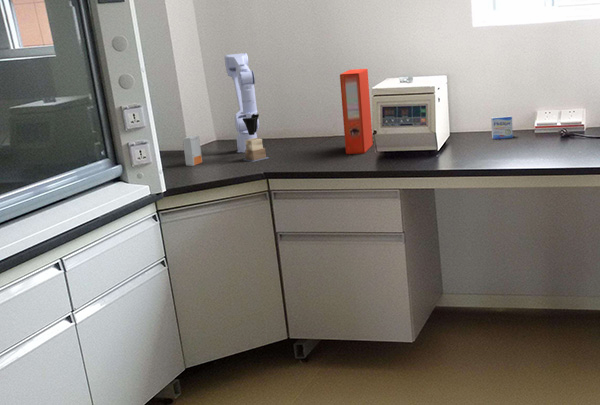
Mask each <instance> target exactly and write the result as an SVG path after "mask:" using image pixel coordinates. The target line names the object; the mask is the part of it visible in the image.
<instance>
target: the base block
mask: <svg viewBox="0 0 600 405" xmlns="http://www.w3.org/2000/svg"><path fill="white" fill-rule="evenodd" d="M266 157H267V154H266V147H263V149H259V150H254V151H251V150H245V159H246V160H245V161H247V160H252V161H251V162H253V161H254V162H256V161H255V160H258V161H261V160H260V159H262V160H265V159H264V158H266Z"/></svg>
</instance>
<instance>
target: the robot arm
mask: <svg viewBox="0 0 600 405" xmlns="http://www.w3.org/2000/svg"><path fill="white" fill-rule="evenodd" d="M224 65H225V69H226V73H227V76H228V77H230V78H232V82H233V84H234V88H235V95H236V100H237V105H238V111H237V113H236V114H235V115H234V124H235V131H236V132H237V133H238V134H237V135H236V145H237V151H236V153H245V150H246V142H245V140H248V139H253V138H258V134H257V132H258V130H260V120H259V116H260V115H259V114H258V106H257V99H256V89H255V84H256V79H255V78H256V76H255V73H254V72H255V71H254V70H252V69H250V67H249V57H248V54H247V53H246V52H241V53H232V54H225V55H224Z"/></svg>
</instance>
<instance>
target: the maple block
mask: <svg viewBox="0 0 600 405" xmlns="http://www.w3.org/2000/svg"><path fill="white" fill-rule="evenodd" d="M245 142H246V150H251V151H254V150H259V149H263V148H264V146H263V139H262V138H259V137H257V138H253V139H248V140H245Z"/></svg>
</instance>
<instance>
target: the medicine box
mask: <svg viewBox="0 0 600 405" xmlns="http://www.w3.org/2000/svg"><path fill="white" fill-rule="evenodd" d="M490 119H491V121H490V122H491V138H492V140H504V139H505V140H506V139H513V136H514V134H513V116H512V115H502V116H491V117H490Z"/></svg>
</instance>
